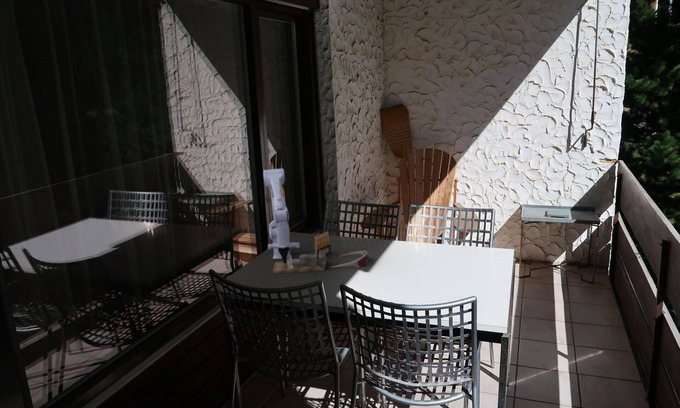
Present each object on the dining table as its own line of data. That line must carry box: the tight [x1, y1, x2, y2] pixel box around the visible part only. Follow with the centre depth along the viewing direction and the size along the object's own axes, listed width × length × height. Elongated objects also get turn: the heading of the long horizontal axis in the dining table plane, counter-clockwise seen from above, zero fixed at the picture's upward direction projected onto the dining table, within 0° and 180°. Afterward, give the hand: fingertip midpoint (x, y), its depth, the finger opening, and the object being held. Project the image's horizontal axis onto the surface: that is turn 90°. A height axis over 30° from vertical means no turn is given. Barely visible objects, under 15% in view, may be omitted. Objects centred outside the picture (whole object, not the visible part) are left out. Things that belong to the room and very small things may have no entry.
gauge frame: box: [272, 250, 327, 275], centre depth 260 cm, size 24×12×6 cm, turn 91°
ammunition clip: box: [314, 230, 332, 260], centre depth 273 cm, size 11×2×12 cm, turn 142°
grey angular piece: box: [287, 254, 300, 269], centre depth 259 cm, size 10×9×4 cm
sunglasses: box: [330, 250, 369, 269], centre depth 263 cm, size 17×17×5 cm
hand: (285, 262), depth 260 cm, fingers closed
